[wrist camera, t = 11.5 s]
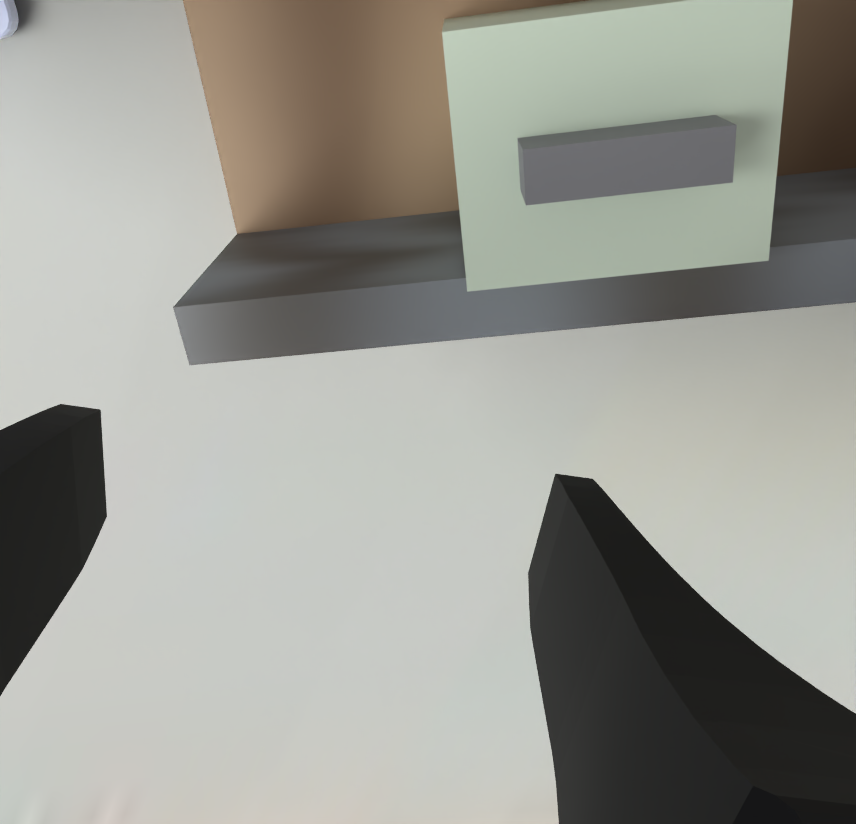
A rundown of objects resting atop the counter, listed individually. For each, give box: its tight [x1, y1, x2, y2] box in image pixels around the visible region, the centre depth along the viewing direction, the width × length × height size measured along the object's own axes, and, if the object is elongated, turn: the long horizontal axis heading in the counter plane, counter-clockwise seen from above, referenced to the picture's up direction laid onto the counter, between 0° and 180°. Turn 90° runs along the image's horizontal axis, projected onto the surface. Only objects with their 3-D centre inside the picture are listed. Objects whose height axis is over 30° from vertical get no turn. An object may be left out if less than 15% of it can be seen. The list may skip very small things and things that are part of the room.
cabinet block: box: [442, 0, 793, 292], centre depth 14 cm, size 5×4×7 cm
